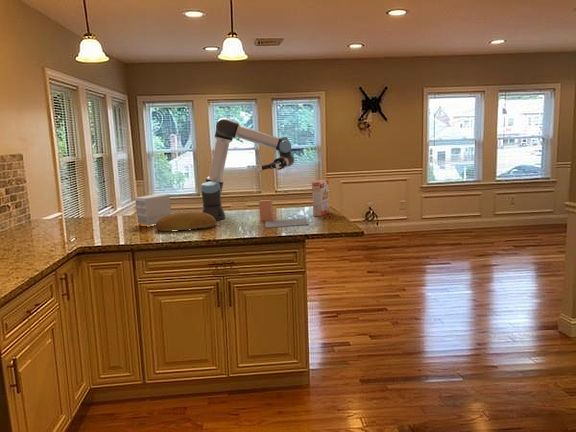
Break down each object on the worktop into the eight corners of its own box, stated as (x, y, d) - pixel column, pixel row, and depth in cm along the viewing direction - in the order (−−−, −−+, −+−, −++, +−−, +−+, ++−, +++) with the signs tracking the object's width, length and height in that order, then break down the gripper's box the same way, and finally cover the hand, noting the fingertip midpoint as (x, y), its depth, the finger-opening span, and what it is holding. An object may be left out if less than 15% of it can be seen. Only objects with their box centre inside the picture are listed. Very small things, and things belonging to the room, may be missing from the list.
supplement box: (162, 221, 307) (159, 193, 304) (173, 222, 298) (170, 194, 295) (137, 225, 295) (134, 197, 292) (148, 227, 286) (144, 198, 283)
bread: (215, 229, 267) (213, 212, 265) (152, 234, 266) (150, 216, 264) (218, 223, 285) (216, 207, 284) (160, 227, 284) (158, 211, 282)
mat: (265, 228, 260) (265, 227, 260) (265, 221, 279) (265, 220, 279) (308, 225, 261) (308, 223, 261) (305, 219, 280) (305, 218, 280)
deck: (262, 219, 287) (261, 200, 285) (273, 219, 285) (271, 200, 283) (260, 220, 284) (259, 201, 282) (271, 220, 282) (270, 200, 280)
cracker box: (322, 216, 284) (320, 182, 281) (313, 216, 287) (311, 182, 283) (330, 212, 297) (328, 179, 293) (321, 212, 299) (319, 179, 296)
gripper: (299, 165, 299) (286, 171, 280) (265, 171, 310) (249, 177, 291) (297, 154, 298) (283, 158, 279) (262, 160, 308) (247, 165, 290)
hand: (266, 168), depth 285 cm, fingers open, 13 cm apart
